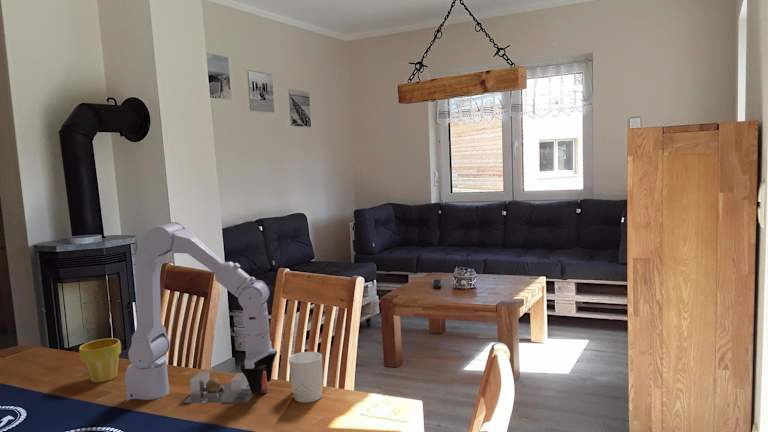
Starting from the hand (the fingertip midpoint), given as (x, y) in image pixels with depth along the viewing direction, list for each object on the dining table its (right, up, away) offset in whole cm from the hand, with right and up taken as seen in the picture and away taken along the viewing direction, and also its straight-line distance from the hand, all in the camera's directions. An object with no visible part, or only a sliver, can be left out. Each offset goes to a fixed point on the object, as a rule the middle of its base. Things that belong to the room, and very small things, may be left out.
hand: (261, 387), depth 146 cm
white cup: (+12, -2, -1) cm, 12 cm away
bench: (-9, -3, +1) cm, 10 cm away
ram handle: (-3, -1, 0) cm, 3 cm away
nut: (-12, -2, +2) cm, 12 cm away
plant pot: (-47, -3, +20) cm, 52 cm away
